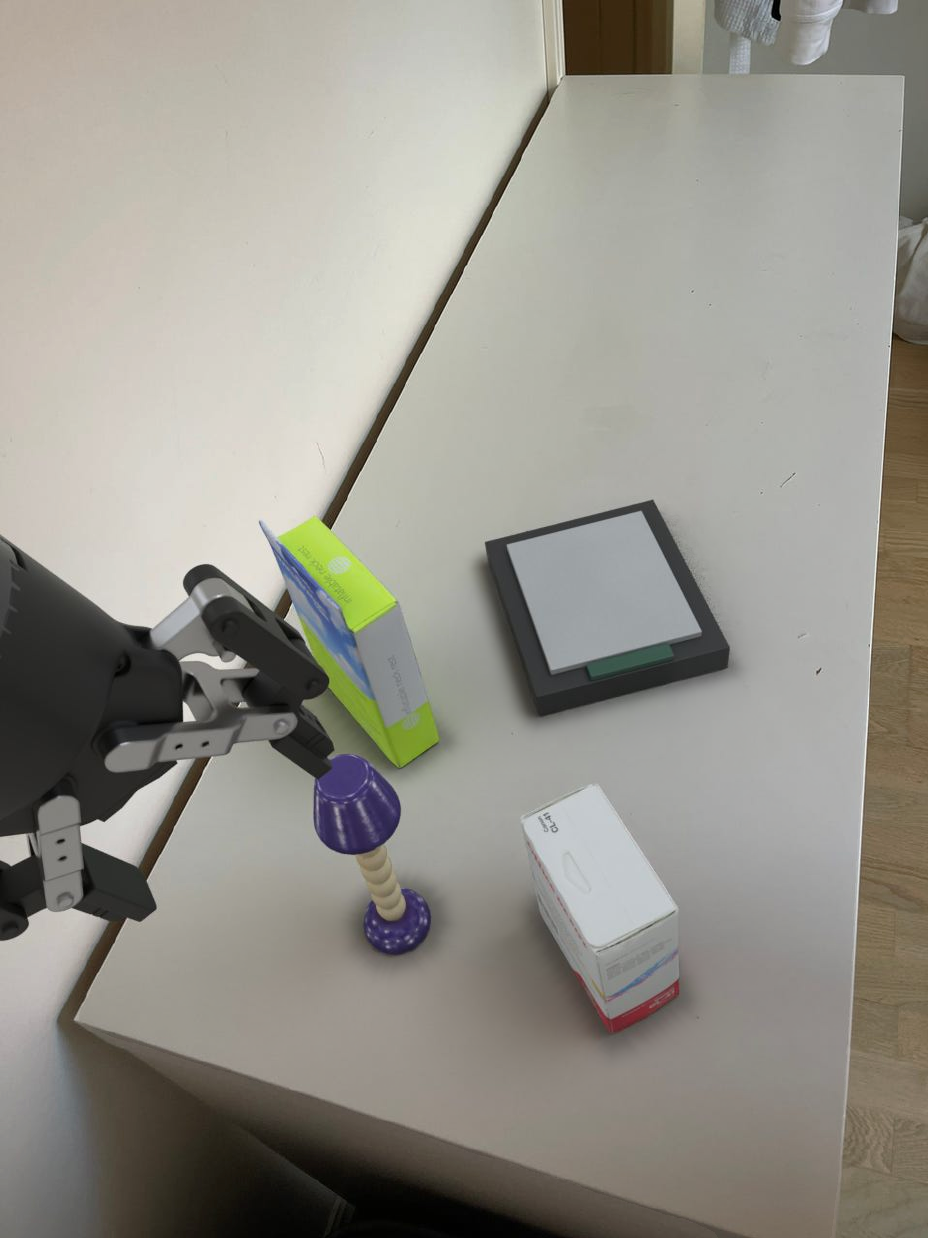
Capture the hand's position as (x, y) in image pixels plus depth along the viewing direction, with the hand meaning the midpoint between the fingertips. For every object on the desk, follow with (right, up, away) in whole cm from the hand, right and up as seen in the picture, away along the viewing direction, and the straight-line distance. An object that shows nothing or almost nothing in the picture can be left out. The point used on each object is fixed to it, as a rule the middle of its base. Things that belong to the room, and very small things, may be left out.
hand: (231, 826), depth 38 cm
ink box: (+17, -12, +21) cm, 30 cm away
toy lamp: (+5, -11, +24) cm, 27 cm away
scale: (+19, +9, +38) cm, 43 cm away
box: (+3, +1, +34) cm, 35 cm away
